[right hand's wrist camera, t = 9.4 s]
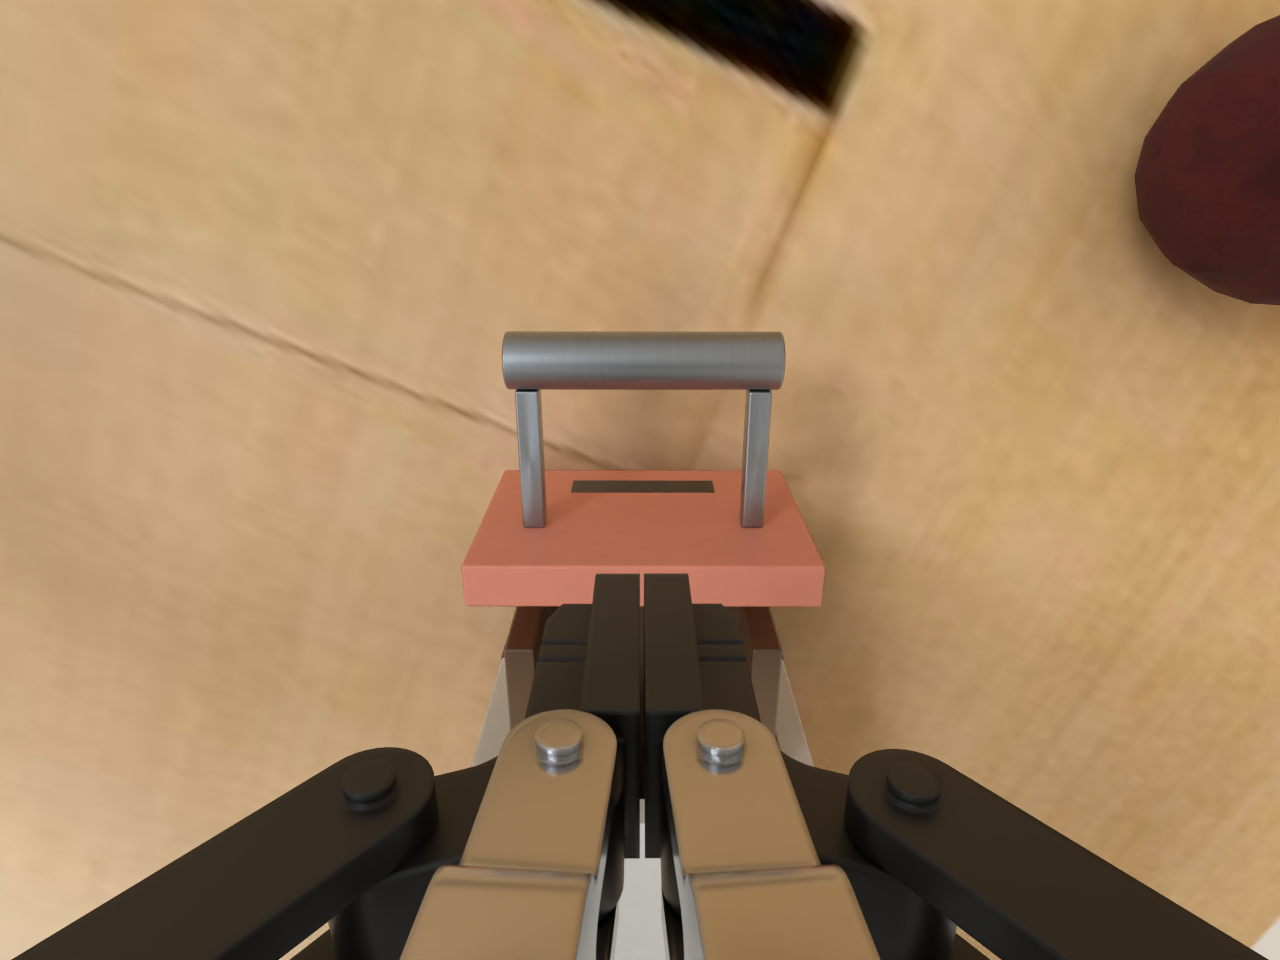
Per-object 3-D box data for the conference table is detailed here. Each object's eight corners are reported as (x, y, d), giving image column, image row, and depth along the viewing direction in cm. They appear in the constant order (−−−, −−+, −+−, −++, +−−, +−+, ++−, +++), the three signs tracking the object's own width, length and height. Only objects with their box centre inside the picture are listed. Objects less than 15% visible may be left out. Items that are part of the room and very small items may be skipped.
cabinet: (505, 644, 29) (453, 823, 21) (779, 644, 29) (832, 824, 21) (528, 945, 35) (494, 1173, 27) (755, 945, 35) (789, 1174, 27)
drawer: (493, 304, 23) (439, 353, 17) (793, 305, 23) (848, 353, 17) (528, 815, 31) (500, 976, 25) (755, 815, 31) (784, 976, 25)
